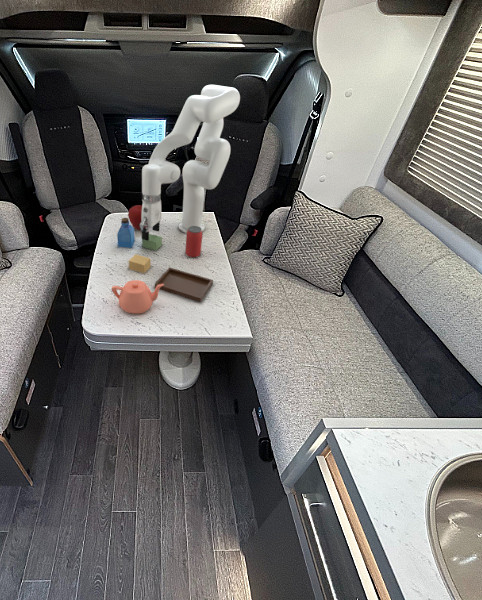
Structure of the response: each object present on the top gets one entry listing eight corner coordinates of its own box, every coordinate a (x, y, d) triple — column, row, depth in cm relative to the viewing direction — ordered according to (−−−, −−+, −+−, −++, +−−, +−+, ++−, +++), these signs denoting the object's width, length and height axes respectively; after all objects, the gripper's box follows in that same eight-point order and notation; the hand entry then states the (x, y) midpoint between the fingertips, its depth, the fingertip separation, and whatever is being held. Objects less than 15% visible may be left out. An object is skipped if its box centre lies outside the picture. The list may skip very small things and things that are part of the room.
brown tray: (169, 271, 137) (169, 267, 136) (212, 284, 131) (213, 279, 129) (154, 288, 128) (154, 283, 127) (200, 302, 122) (200, 298, 121)
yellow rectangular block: (135, 262, 142) (135, 254, 140) (150, 266, 140) (150, 258, 137) (129, 269, 138) (128, 260, 136) (144, 273, 136) (143, 265, 133)
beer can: (182, 255, 147) (184, 230, 139) (189, 248, 151) (190, 224, 144) (196, 259, 144) (199, 234, 137) (202, 252, 149) (205, 227, 141)
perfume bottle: (131, 248, 151) (130, 223, 144) (118, 246, 152) (116, 222, 144) (134, 241, 156) (133, 216, 148) (121, 240, 157) (119, 215, 149)
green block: (148, 241, 156) (148, 233, 154) (161, 244, 154) (161, 236, 151) (142, 246, 152) (142, 238, 150) (156, 250, 150) (156, 242, 147)
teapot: (115, 293, 126) (113, 272, 120) (163, 294, 126) (164, 273, 120) (111, 315, 116) (108, 293, 110) (163, 316, 116) (164, 294, 110)
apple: (155, 226, 167) (155, 203, 160) (144, 235, 160) (144, 212, 153) (136, 221, 171) (135, 199, 164) (124, 230, 164) (123, 207, 157)
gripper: (149, 206, 131) (148, 245, 142) (168, 192, 143) (167, 229, 154) (132, 202, 134) (133, 241, 144) (153, 188, 146) (152, 225, 156)
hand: (150, 235), depth 149 cm, fingers open, 9 cm apart
